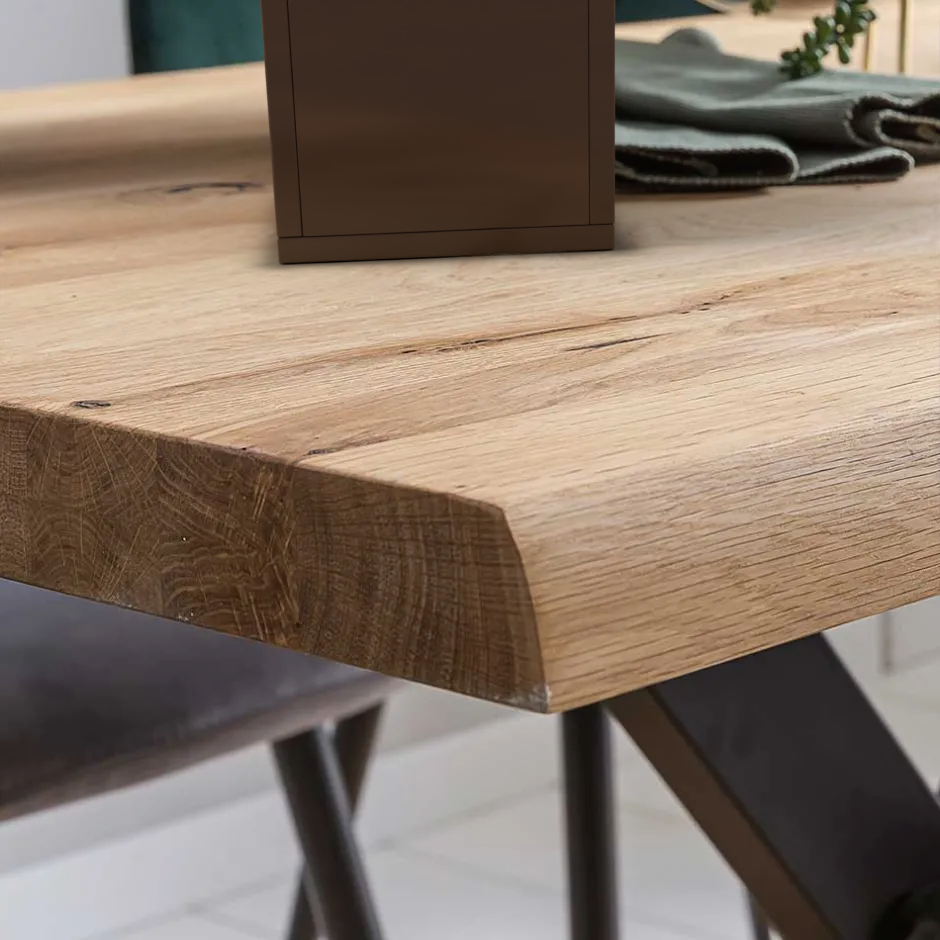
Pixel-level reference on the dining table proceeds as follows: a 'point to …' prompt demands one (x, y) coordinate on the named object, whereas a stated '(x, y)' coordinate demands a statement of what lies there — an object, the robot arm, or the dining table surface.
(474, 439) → the dining table surface
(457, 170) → the cabinet
